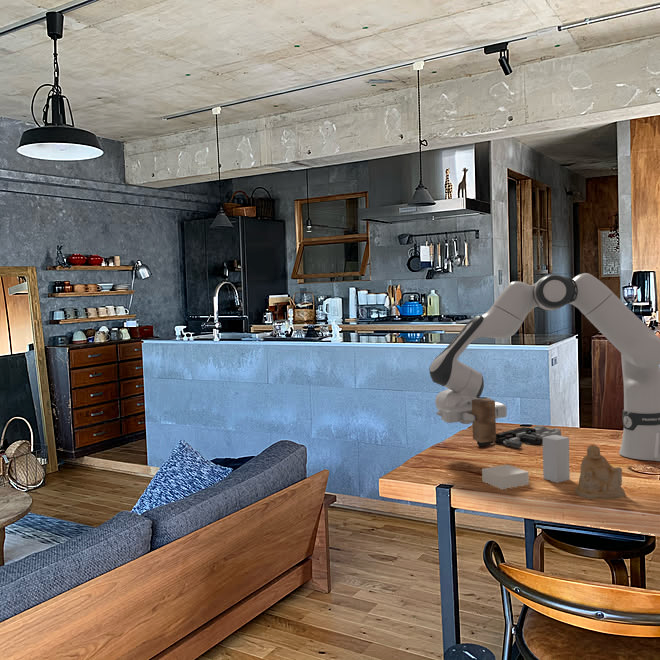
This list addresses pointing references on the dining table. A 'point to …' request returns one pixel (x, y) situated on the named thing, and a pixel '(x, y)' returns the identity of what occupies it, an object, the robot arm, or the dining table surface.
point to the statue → (599, 477)
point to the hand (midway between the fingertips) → (485, 417)
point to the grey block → (556, 458)
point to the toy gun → (523, 436)
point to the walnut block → (484, 420)
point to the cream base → (505, 476)
